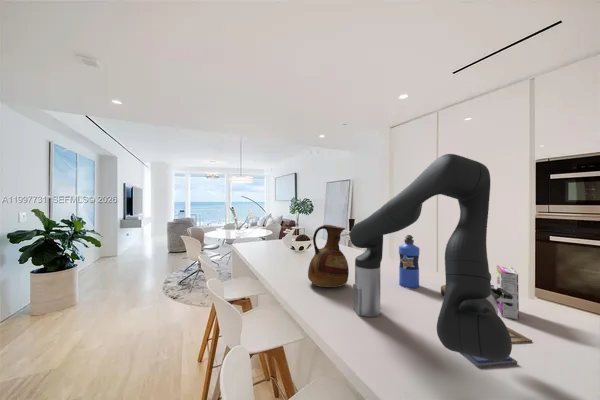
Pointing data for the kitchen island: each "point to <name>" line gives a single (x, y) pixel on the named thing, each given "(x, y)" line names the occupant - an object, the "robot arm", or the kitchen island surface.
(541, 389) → the kitchen island surface
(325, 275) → the ceramic pitcher
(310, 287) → the kitchen island surface
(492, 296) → the robot arm
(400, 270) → the water bottle
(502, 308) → the candy bar box
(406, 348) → the kitchen island surface
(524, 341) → the marked board
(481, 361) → the ink pad
